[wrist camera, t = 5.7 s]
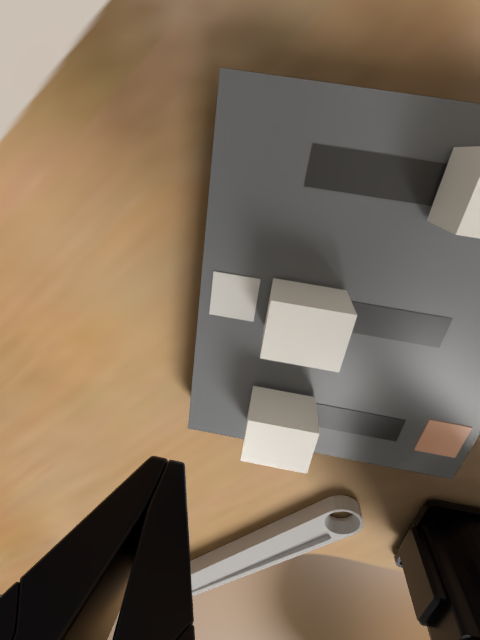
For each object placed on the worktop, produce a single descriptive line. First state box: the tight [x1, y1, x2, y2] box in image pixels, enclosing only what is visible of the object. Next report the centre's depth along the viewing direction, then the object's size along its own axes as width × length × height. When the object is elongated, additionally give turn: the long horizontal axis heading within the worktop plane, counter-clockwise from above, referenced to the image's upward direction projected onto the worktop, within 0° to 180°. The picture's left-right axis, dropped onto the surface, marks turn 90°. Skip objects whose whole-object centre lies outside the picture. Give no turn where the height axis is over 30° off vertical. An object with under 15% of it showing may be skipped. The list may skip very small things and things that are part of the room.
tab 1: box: [260, 278, 357, 372], centre depth 13 cm, size 3×2×2 cm
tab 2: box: [240, 386, 320, 474], centre depth 16 cm, size 3×2×2 cm
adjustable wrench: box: [190, 495, 363, 596], centre depth 27 cm, size 25×6×2 cm, turn 127°
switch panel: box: [188, 68, 480, 479], centre depth 15 cm, size 14×16×2 cm
